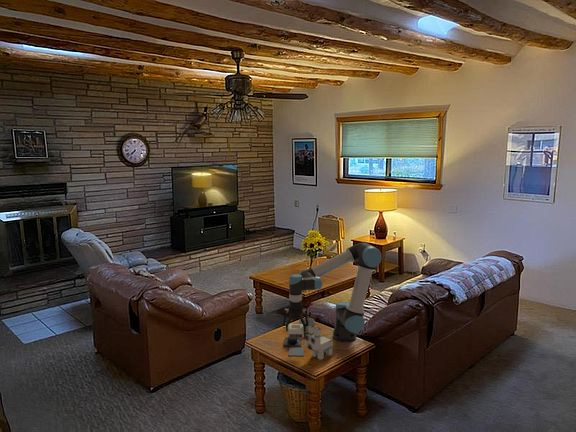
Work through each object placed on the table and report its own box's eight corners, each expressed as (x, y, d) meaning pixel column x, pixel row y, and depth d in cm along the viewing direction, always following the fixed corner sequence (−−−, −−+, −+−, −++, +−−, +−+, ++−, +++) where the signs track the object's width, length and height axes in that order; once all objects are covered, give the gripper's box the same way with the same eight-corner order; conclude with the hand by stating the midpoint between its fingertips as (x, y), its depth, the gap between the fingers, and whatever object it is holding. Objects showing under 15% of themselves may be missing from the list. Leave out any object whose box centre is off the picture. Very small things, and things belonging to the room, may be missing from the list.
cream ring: (302, 328, 260) (302, 324, 260) (302, 334, 252) (302, 329, 252) (289, 328, 261) (289, 323, 261) (288, 333, 253) (288, 329, 253)
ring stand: (302, 339, 276) (301, 322, 275) (301, 347, 266) (300, 329, 264) (285, 338, 277) (285, 322, 276) (283, 346, 267) (283, 329, 265)
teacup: (313, 335, 282) (313, 324, 280) (297, 334, 284) (297, 323, 283) (316, 327, 295) (316, 316, 294) (300, 326, 297) (300, 315, 296)
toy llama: (335, 353, 256) (335, 322, 253) (314, 363, 245) (314, 330, 242) (326, 349, 262) (325, 318, 259) (305, 359, 250) (305, 326, 247)
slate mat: (304, 348, 263) (304, 347, 263) (303, 356, 254) (303, 355, 253) (289, 348, 264) (289, 347, 264) (288, 355, 254) (288, 355, 254)
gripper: (313, 298, 257) (313, 334, 260) (278, 297, 258) (279, 333, 262) (312, 303, 249) (312, 339, 253) (277, 302, 251) (278, 338, 254)
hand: (295, 336), depth 257 cm, fingers closed on cream ring, 8 cm apart
